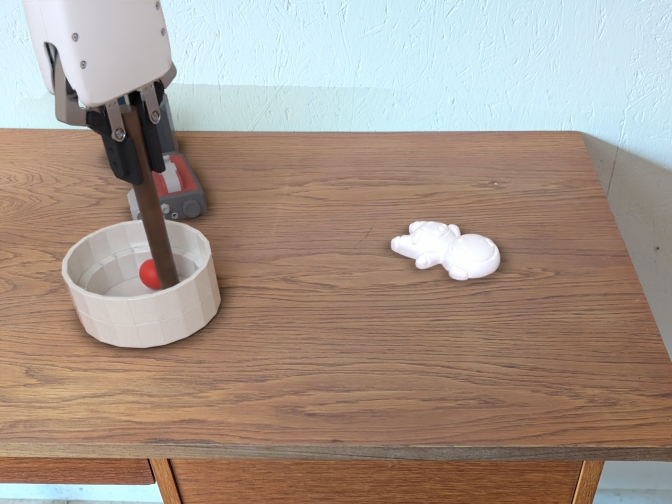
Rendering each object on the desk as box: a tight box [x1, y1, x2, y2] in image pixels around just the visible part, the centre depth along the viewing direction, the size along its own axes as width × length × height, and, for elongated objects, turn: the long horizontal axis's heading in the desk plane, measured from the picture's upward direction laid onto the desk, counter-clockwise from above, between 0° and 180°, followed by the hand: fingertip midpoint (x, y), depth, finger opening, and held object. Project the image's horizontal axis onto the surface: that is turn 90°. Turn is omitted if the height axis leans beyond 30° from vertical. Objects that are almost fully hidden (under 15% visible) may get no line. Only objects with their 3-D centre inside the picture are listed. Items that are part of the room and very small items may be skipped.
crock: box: [100, 91, 180, 162], centre depth 93 cm, size 9×9×7 cm
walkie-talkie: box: [126, 151, 209, 221], centre depth 85 cm, size 9×4×20 cm
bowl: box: [61, 220, 222, 349], centre depth 72 cm, size 14×14×6 cm
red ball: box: [139, 259, 161, 289], centre depth 75 cm, size 3×3×3 cm
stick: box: [119, 104, 180, 290], centre depth 67 cm, size 2×2×17 cm
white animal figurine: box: [390, 220, 501, 281], centre depth 79 cm, size 9×12×3 cm
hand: (140, 173), depth 65 cm, fingers closed on stick, 2 cm apart
